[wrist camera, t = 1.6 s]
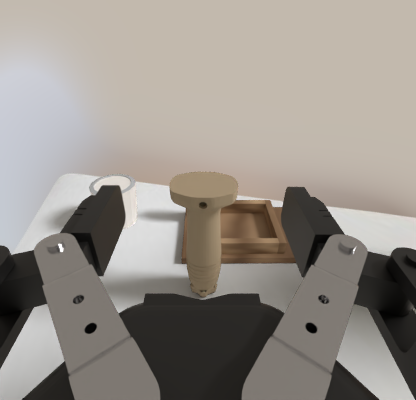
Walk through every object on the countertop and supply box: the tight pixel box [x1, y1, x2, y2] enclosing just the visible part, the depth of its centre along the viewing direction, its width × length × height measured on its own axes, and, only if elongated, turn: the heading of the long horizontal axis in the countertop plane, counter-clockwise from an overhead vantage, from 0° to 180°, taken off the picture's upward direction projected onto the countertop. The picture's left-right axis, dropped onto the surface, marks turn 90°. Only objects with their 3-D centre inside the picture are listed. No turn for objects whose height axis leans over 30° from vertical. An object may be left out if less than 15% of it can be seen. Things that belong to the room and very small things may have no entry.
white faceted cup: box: [89, 174, 138, 230], centre depth 43 cm, size 7×7×7 cm
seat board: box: [182, 200, 296, 264], centre depth 39 cm, size 18×12×8 cm, turn 91°
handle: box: [170, 172, 238, 297], centre depth 29 cm, size 5×6×15 cm
